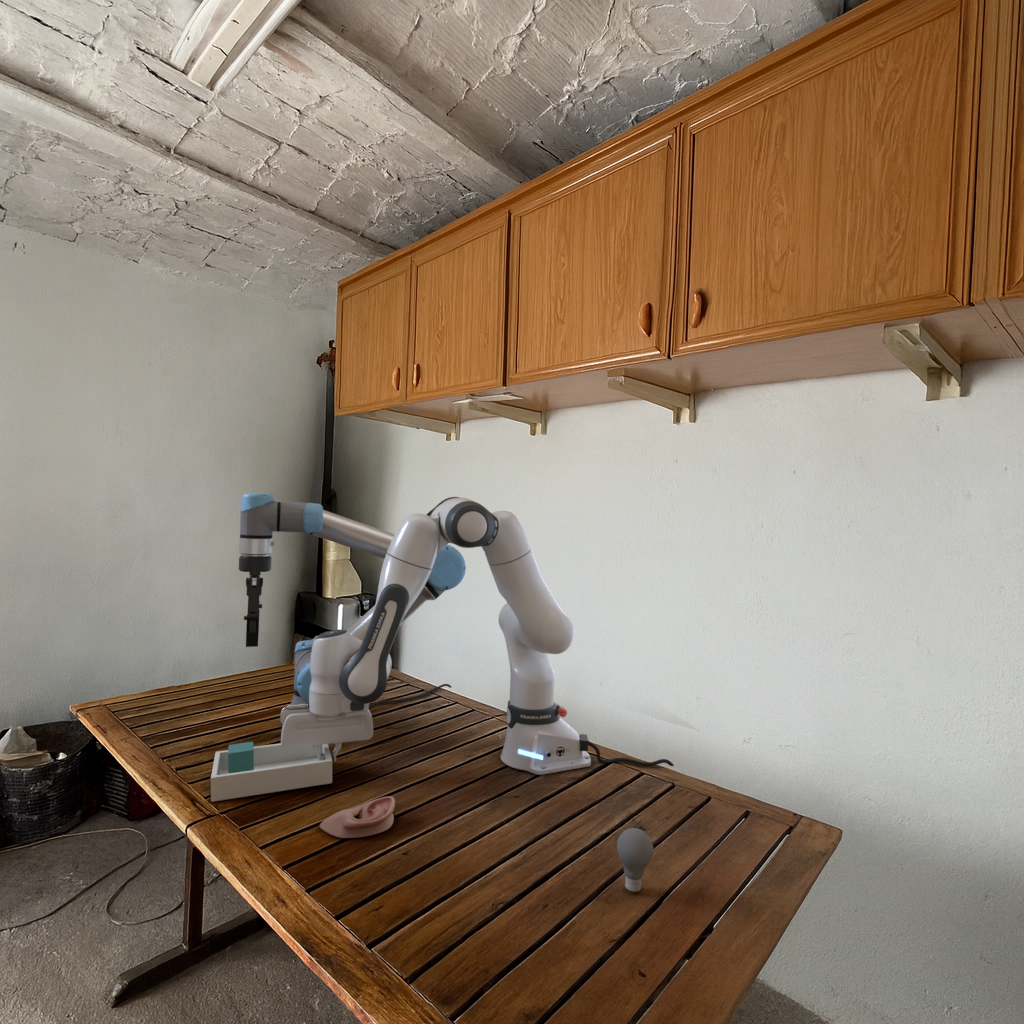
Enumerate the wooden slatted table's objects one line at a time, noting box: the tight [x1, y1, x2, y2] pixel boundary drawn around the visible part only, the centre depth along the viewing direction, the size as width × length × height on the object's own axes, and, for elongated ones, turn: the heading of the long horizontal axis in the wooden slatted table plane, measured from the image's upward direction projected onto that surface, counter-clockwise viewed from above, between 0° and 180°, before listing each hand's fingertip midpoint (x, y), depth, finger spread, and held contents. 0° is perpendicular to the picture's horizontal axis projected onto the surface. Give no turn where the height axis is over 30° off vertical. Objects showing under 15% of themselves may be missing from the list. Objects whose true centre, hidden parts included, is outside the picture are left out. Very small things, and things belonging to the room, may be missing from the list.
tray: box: [210, 742, 333, 803], centre depth 140 cm, size 24×14×5 cm, turn 111°
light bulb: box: [616, 827, 654, 893], centre depth 106 cm, size 6×6×10 cm
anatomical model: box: [319, 795, 396, 839], centre depth 123 cm, size 13×4×12 cm
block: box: [227, 741, 255, 774], centre depth 138 cm, size 5×5×7 cm
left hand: (252, 640), depth 158 cm, fingers open, 13 cm apart
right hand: (326, 761), depth 145 cm, fingers closed on tray
